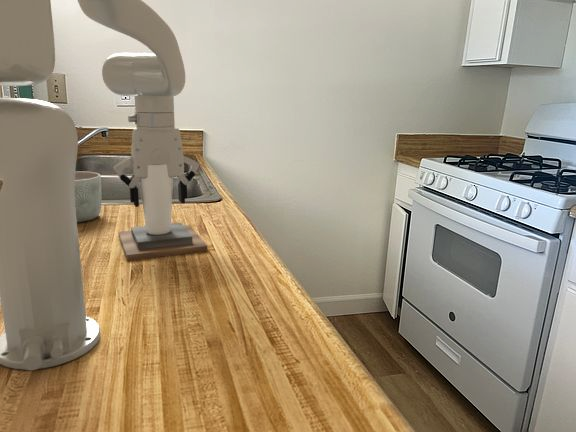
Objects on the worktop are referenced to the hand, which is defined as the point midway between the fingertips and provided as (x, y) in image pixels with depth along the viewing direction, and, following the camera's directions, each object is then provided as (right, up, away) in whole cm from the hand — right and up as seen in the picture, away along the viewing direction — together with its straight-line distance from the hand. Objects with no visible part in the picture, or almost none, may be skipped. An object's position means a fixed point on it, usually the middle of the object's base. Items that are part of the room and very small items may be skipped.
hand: (159, 203), depth 101 cm
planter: (-26, -3, +20) cm, 33 cm away
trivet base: (0, -9, +2) cm, 9 cm away
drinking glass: (-1, -6, +1) cm, 6 cm away
